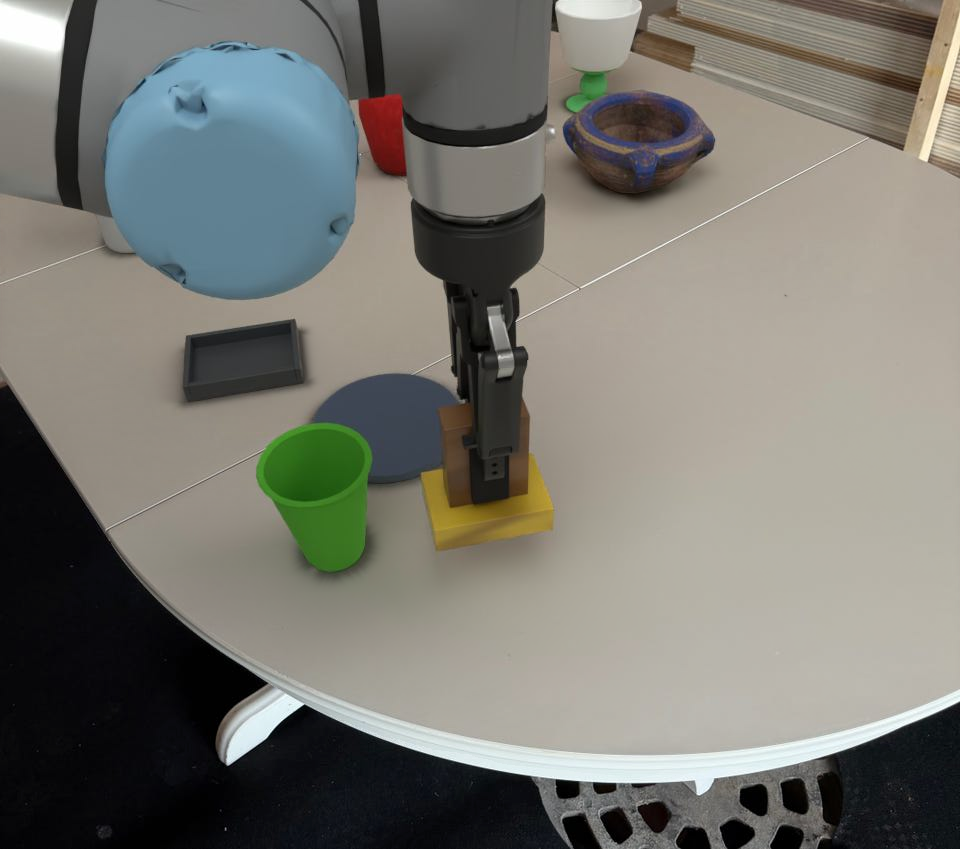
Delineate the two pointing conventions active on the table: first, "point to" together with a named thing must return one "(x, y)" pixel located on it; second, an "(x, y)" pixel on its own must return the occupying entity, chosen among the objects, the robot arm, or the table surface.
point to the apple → (384, 131)
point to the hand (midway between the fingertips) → (485, 482)
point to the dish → (242, 360)
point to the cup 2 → (595, 41)
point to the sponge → (452, 490)
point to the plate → (392, 422)
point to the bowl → (637, 139)
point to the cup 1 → (320, 490)
